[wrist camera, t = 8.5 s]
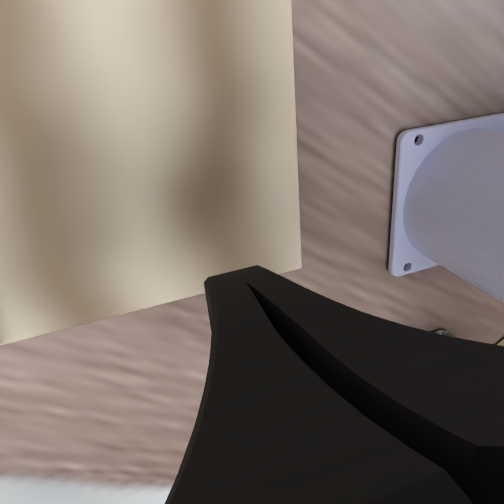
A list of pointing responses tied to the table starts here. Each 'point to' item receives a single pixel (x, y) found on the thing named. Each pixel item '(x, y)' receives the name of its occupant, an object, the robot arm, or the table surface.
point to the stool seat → (141, 153)
